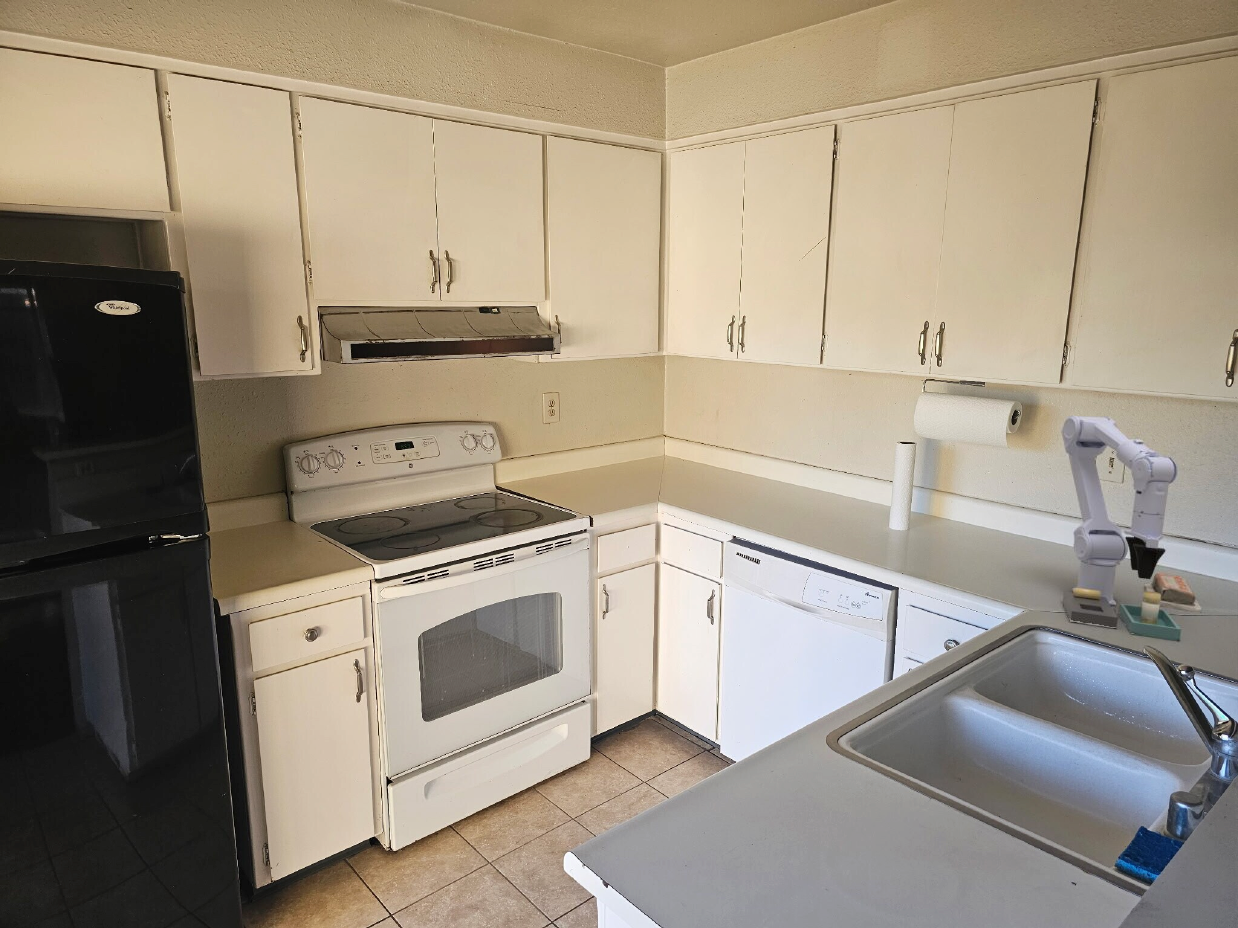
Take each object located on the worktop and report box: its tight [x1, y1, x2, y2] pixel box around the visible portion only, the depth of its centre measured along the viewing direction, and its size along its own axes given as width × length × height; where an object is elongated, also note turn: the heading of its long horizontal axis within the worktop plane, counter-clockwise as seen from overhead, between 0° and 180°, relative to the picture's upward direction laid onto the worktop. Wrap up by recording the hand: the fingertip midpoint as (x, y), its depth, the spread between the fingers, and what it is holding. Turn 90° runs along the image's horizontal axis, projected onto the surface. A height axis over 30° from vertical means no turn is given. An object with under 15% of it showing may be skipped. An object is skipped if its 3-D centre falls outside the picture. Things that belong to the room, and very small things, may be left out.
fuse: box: [1140, 590, 1161, 625], centre depth 171 cm, size 3×3×7 cm
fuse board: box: [1062, 587, 1119, 629], centre depth 178 cm, size 16×8×4 cm, turn 157°
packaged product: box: [1143, 573, 1203, 613], centre depth 194 cm, size 18×5×10 cm
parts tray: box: [1118, 603, 1182, 642], centre depth 172 cm, size 14×8×2 cm, turn 157°
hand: (1140, 574), depth 175 cm, fingers open, 7 cm apart
